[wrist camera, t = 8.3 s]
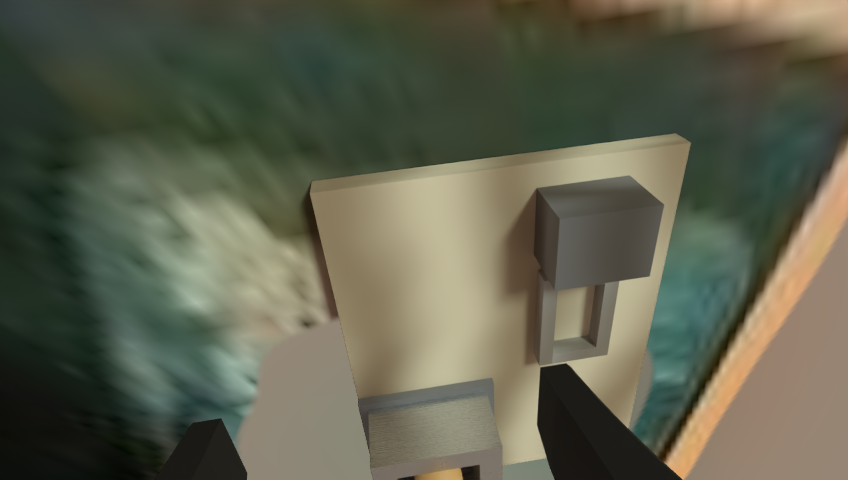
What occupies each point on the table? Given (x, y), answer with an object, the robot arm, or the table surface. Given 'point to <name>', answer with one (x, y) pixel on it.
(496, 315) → the board
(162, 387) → the table surface
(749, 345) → the table surface
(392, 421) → the square metal tube
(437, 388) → the square tray with peg
